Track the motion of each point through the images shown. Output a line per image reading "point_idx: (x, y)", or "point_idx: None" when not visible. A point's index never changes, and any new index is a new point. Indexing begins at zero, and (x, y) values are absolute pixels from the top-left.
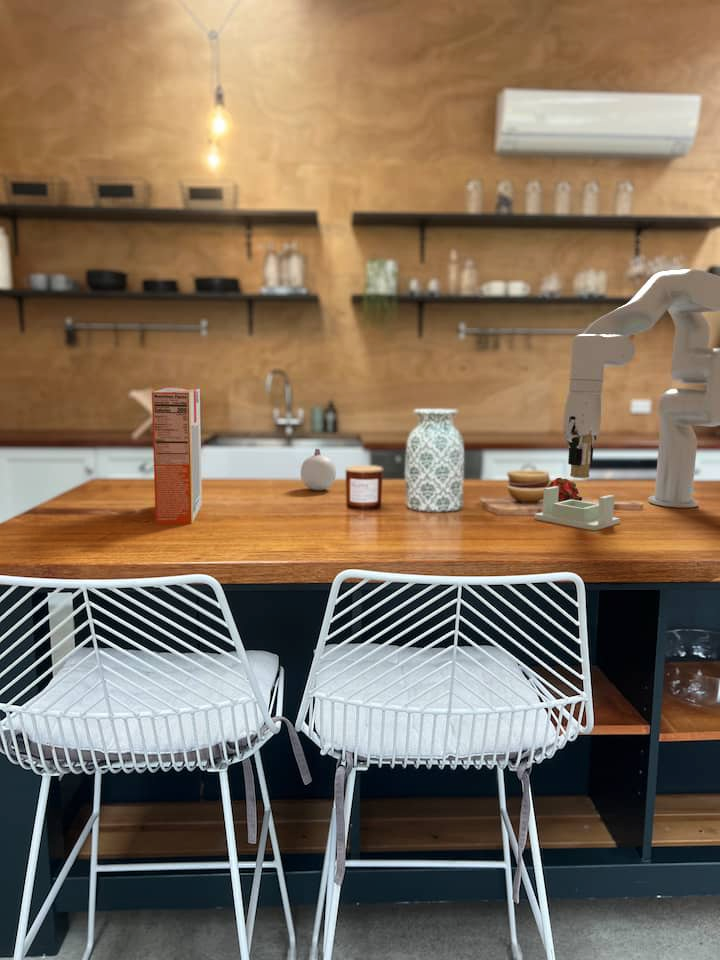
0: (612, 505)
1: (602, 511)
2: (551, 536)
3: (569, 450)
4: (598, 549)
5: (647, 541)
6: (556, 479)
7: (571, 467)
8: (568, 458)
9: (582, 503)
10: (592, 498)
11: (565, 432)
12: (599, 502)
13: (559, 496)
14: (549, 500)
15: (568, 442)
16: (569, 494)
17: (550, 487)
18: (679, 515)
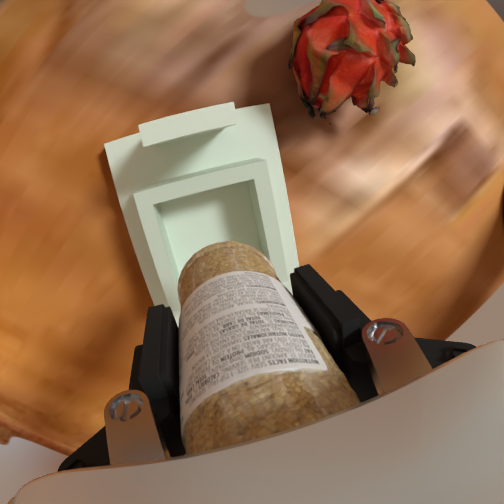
0: None
1: None
2: (34, 322)
3: (142, 366)
4: (75, 416)
5: None
6: (368, 9)
7: (186, 288)
8: (146, 324)
9: (260, 219)
10: (470, 56)
11: (73, 486)
12: None
13: (302, 71)
14: (163, 142)
15: (75, 456)
16: (323, 104)
17: (188, 115)
18: (462, 280)
